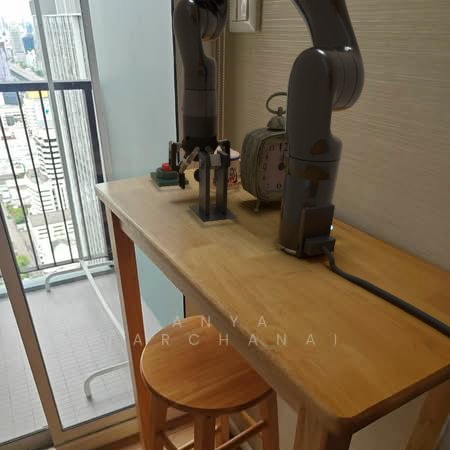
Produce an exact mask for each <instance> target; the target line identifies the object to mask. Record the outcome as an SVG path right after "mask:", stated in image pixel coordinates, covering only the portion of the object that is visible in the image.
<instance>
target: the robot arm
mask: <svg viewBox="0 0 450 450" xmlns="http://www.w3.org/2000/svg"><path fill="white" fill-rule="evenodd" d="M290 2H292V4H293V7H295V9H296V10H297V13H298V14H299V15H300V17H301V19H302V20H303V23H304V24H305V26H306V29H307V32H308V35H309V38H310V41H311V45H312V46H309V47H307V48H305V49H303V50H302V51H300V53H298V55H297V56H296V57H295V59H294V61H293V63H292V65H291V68H290V71H289V75H288V80H287V88H286V92H287V96H286V102H285V110H286V114H285V117H286V120H285V135H286V140H287V145H288V149H287V159H286V168H285V176H284V185H283V194H282V201H281V204H280V213H279V220H278V221H279V222H278V231H277V243H278V244H279V245H280V246H282V247H280V248H279V250H280V251H282V252H284V253H287V254H289V255H293V256H296V257H297V259H299V258H308V257H314V256H319V255H320V256H321V255H325V256H326V258H327V259H328V263H329V267H330V268H331V270H332V271H333V272H334V273H335V274H336V275H337V276H340V277H341V278H343V279H345V280H347V281H349V282H352V283H355V284H358V285H361V286H362V287H365V288H366V289H368V290H370V291H372V292H374V293H376V294H377V295H379V296H381V297H382V298H385V299H387V300H389V301H391V302H392V303H394V304H396V305H398V306H400V307H401V308H403V309H405V310H407V311H408V312H410V313H412V314H413V315H416V316H417V317H419V318H420V319H422V320H424V321H426V322H428V323H429V324H431V325H433V326H434V327H436V328H438V329H440V330H441V331H443V332H444V333H446V334H447V335H449V336H450V326H449V325H448V324H446V323H444V322H442V321H441V320H439V319H438V318H436V317H434V316H432V315H431V314H428V313H427V312H425V311H423V310H422V309H420V308H418V307H417V306H414V305H413V304H410V303H409V302H407V301H405V300H403V299H402V298H400V297H397V296H396V295H394V294H392V293H390V292H388V291H387V290H385V289H382V288H381V287H379V286H377V285H376V284H373V283H371V282H369V281H368V280H365V279H363V278H360V277H359V276H358V277H357V276H355V275H352V274H349V273H346V272H345V271H343V270H342V269H340V268H339V267H338V266H337V264H336V260H335V257H334V255H333V253H334V252H335V246H336V242H337V239H336V238H335V237H333V236H331V232H332V230H333V220H334V215H335V210H336V205H335V204H334V197H335V194H336V193H335V192H336V188H337V187H336V186H337V181H338V176H339V170H340V165H341V159H342V153H343V149H344V142H343V140H342V139H341V138H340V137H338V136H336V135H334V133H333V132H332V126H331V125H332V115H333V113H335V112H342V111H346V110H348V109H351V108H352V107H353V106H355V104H357V102H358V101H359V99H360V98H361V95H362V93H363V90H364V86H365V78H366V77H365V74H366V73H365V72H366V71H365V65H364V61H363V56H362V52H361V49H360V46H359V42H358V40H357V36H356V32H355V30H354V27H353V24H352V20H351V16H350V13H349V10H348V5H347V1H346V0H290ZM228 14H229V0H178V1H177V2H176V4H175V6H174V9H173V13H172V26H173V27H172V28H173V34H174V37H175V41H176V46H177V50H178V55H179V58H180V63H181V65H182V96H181V113H182V117H181V118H182V140H181V141H180V142H179V141H173V140H170V141H169V142H168V162H167V163H168V166H169V168H170V169H171V170H172V171H176V172H177V184H178V187H179V188H180V189H181V190H185V189H186V185H185V177H186V173H185V171H186V170H187V169H188V167H189V166H191V164H192V163H193V162H194V163H199V152H200V151H204V152H205V153H206V154H208V155H211V154H214V152H215V151H216V149H217V147H218V146H219V147H220V149H221V150H222V151H223V152H224V153H226V154H228V155H229V161H228V167H230V165H231V161H230V148H231V141H230V140H228V139H227V138H222V139H219V140H218V137H217V136H218V94H217V93H218V92H217V85H218V84H217V83H218V81H217V79H218V77H217V76H218V75H217V74H218V66H217V61H216V59H215V58H214V57H212V56H210V55H208V54H206V53H205V49H204V44H203V42H215V41H216V40H218V39H219V38H220V37H221V36H222V34H223V32H224V30H225V27H226V25H227V22H228ZM180 149H182V151H183V152H184V153H183V155H182V156H181V158H180V161H179V162H178V163H177V161H178V154H179V153H180ZM214 185H215V186H216V170H214Z"/></svg>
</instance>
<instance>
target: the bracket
mask: <svg viewBox="0 0 450 450" xmlns="http://www.w3.org/2000/svg"><path fill="white" fill-rule="evenodd" d="M217 154H220V160H221V166H220V167H219V168H218V169H216V189H215V203H211V188H210V156H209V155H208V154H206V153H205V152H204V151H200V152H199V162H198V168H199V182H198V204H196V205H189V206H188V207H189V208H190V210H191V211H192V212H193V213H194V214H195V216H197V218H199V219H200V221H201V222H202V223H208V222H215V221H218V222H219V221H225V220H233V219H238V216H237V215H236V214H235V213H234V212H232V211H231V210H230V209H229V208H228V190H229V189H228V161H229V155H228V154H226V153H224V152H223V151H221V150H218V151H217Z"/></svg>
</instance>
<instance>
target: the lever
mask: <svg viewBox="0 0 450 450" xmlns="http://www.w3.org/2000/svg"><path fill="white" fill-rule="evenodd" d="M209 156H210V170H216V169H218V168H219V167H220V166H221V160H220V154H211V155H209ZM193 179H194V180H195V182H197V183H199V167H198V168H196V169H195V170H194V171H193Z"/></svg>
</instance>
